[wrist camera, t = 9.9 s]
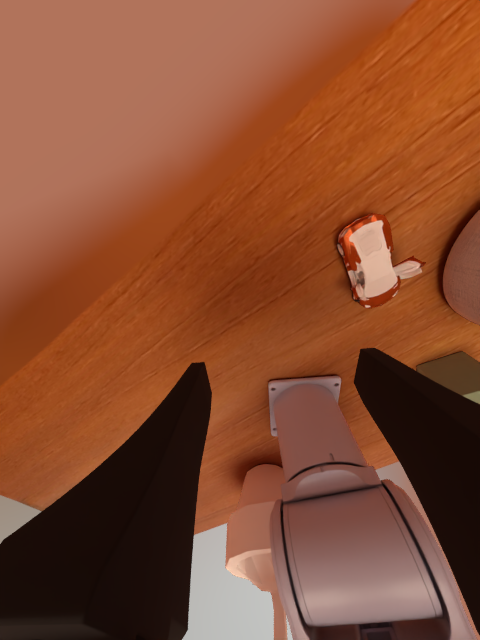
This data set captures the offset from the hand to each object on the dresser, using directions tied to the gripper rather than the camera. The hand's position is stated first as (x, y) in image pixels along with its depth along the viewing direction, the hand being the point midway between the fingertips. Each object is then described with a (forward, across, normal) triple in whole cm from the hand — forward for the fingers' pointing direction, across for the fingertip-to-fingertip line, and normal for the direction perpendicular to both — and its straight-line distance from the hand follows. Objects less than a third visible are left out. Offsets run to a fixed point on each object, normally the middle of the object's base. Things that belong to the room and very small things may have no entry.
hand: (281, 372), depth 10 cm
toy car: (+11, -9, -2) cm, 14 cm away
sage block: (+10, -19, +12) cm, 24 cm away
